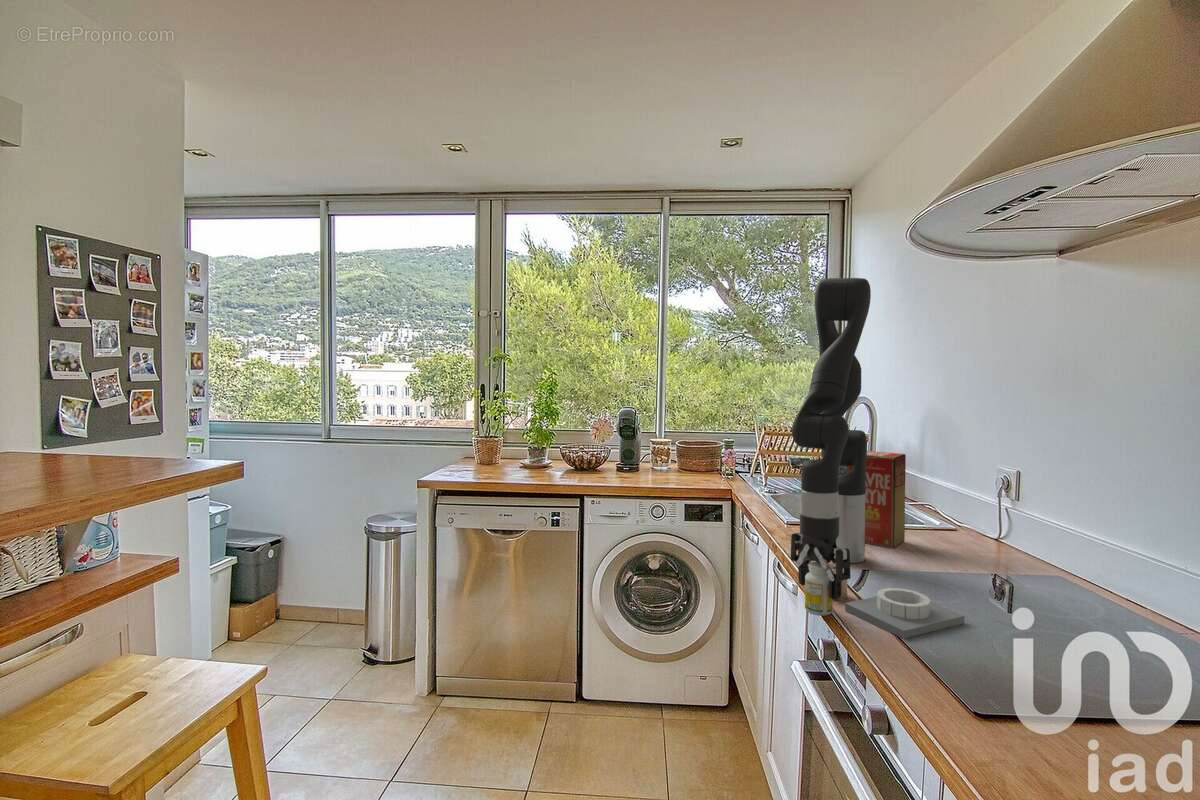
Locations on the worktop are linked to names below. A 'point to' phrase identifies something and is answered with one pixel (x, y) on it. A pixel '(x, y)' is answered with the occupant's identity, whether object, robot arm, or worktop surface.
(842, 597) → the peach pill-shaped knob
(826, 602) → the supplement bottle
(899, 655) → the worktop surface
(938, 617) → the collar board
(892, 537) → the food packaging
